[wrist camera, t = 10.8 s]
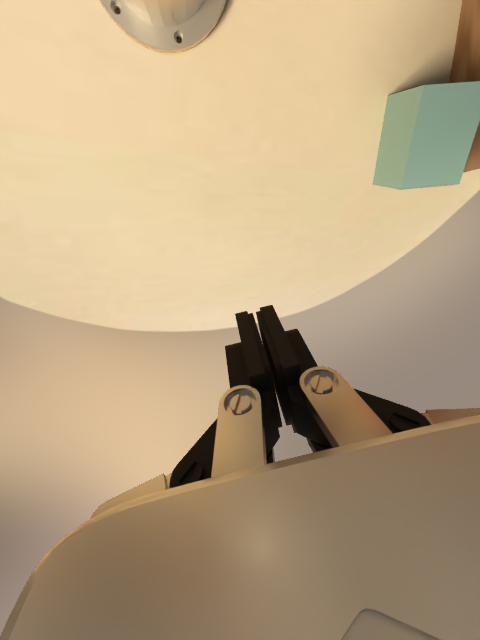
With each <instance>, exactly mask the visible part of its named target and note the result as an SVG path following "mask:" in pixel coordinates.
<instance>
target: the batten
mask: <svg viewBox="0 0 480 640" xmlns="http://www.w3.org/2000/svg"><path fill="white" fill-rule="evenodd" d="M476 81H480V0H463V2H462V8H461V14H460V21H459V27H458V33H457V39H456V46H455V52H454V58H453V64H452V71H451V77H450V83H461V82H476ZM479 168H480V121H479V124H478V127H477V130H476V134H475V137H474V140H473V143H472V146H471V149H470V152H469V155H468V158H467V161H466V164H465V167H464V171H463V172H467V171H471V170H475V169H479Z"/></svg>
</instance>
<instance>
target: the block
mask: <svg viewBox="0 0 480 640" xmlns="http://www.w3.org/2000/svg"><path fill="white" fill-rule="evenodd" d="M479 121H480V81H476V82H461V83H446V84H431V85H422V86H419V87H415V88H412V89H409V90H405V91H402V92H399V93H395V94H392V95H389V96H388V98H387V104H386V110H385V116H384V122H383V127H382V133H381V139H380V145H379V151H378V156H377V162H376V168H375V174H374V180H373V185H378V186H384V187H389V188H394V189H399V190H403V189H414V188H424V187H435V186H446V185H456V184H459V183H460V180H461V177H462V174H463V171H464V167H465V164H466V161H467V158H468V155H469V152H470V149H471V146H472V143H473V140H474V137H475V134H476V130H477V127H478V124H479Z"/></svg>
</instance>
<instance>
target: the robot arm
mask: <svg viewBox="0 0 480 640" xmlns="http://www.w3.org/2000/svg"><path fill="white" fill-rule="evenodd" d="M100 2H101V4H102V5H103V7H104V8H105V10H106V11H107V12H108V14H109V15H110V17H111V18H112V19H113V20H114V21H115V23H116V24H117V25H118V26H119V27H120V28H121V30H123V31H124V32H125V33H126V34H127V35H128V36H130V37H131V38H132V39H133V40H134V41H136V42H138V43H139V44H141V45H143V46H145V47H146V48H149V49H152V50H155V51H158V52H164V53H176V52H182V51H186V50H188V49H190V48H192V47H194V46H196V45H198V44H199V43H200V42H201V41H202V40H204V39H205V38H206V37H207V36H208V35H209V33H210V32H211V31H212V29H213V28H214V27H215V26H216V24H217V22H218V20H219V18H220V16H221V14H222V12H223V9H224V6H225V3H226V0H100ZM117 8H119V9H120V11H121V12H120V14H116V9H117ZM178 37H180V38H181V39H182V42H181V43H178V42H177V38H178ZM256 314H257V319H258V324H259V329H260V333H261V338H262V341H261V338H260V335H259V332H258V329H257V325H256V322H255V319H254V316H253V313H250V314H248V313H247V311H245V312H241V313H237V314H235V315H236V320H237V325H238V329H239V334H240V339H241V342H240V343H236V344H232V345H228V346H225V350H226V359H227V365H228V375H229V383H230V389H229V390H228V391H226V392H225V393H224V394H223V396H222V397H221V399H220V403H219V410H218V418H217V419H216V420H215V422H214V423H213V424H212V425H211V426H210V427H209V428H208V430H207V431H206V432H205V433H204V434H203V435H202V437H201V438H200V439H199V440H198V441H197V442H196V444H195V445H194V446H193V447H192V448H191V450H189V452H188V453H187V454H186V455H185V456H184V457H183V459H182V460H181V461H180V462H179V463H178V464H177V466H176V467H175V469H174V470H173V472H172V473H171V474H169V475H167V476H165V475H164V474H161V475H159V476H157V477H155V478H153V479H151V480H149V481H147V482H145V483H143V484H141V485H139V486H137V487H135V488H133V489H130V490H128V491H126V492H124V493H122V494H120V495H118V496H116V497H114V498H112V499H110V500H108V501H106V502H105V503H103V504H102V505H101V506H99V507H98V509H97V510H96V511H95V512H94V513H93V515H92V516H91V518H90V519H89V520H88V521H86V522H85V523H83V524H82V525H80V526H79V527H77V528H76V529H74V530H73V531H71V532H70V533H69V534H67V535H66V536H65V537H64V538H62V539H61V540H60V541H59V542H58V543H57V544H55V545H54V546H53V547H52V548H51V549H50V550H49V551H48V552H47V554H46V555H45V556H44V557H43V558H42V559H41V561H40V562H39V564H38V565H37V566H36V568H35V569H34V571H33V573H32V574H31V576H30V577H29V579H28V581H27V582H26V585H25V586H24V588H23V590H22V592H21V594H20V596H19V598H18V600H17V602H16V604H15V606H14V608H13V610H12V612H11V614H10V616H9V618H8V620H7V622H6V625H5V627H4V629H3V631H2V634H1V636H0V640H480V408H468V409H437V410H436V409H435V410H426V412H425V413H419V412H418V411H415V410H413V409H411V408H408V407H405V406H403V405H400V404H396V403H394V402H391V401H388V400H385V399H382V398H379V397H376V396H373V395H371V394H367V393H365V392H362V391H359V390H356V389H353V388H352V387H351V386H350V385H349V383H348V382H347V381H346V380H345V379H344V378H343V377H342V376H341V374H340V373H338V372H337V371H336V370H334V369H332V368H329V367H324V366H317V364H316V362H315V360H314V358H313V357H312V355H311V353H310V351H309V349H308V347H307V345H306V344H305V342H304V340H303V338H302V336H301V334H300V333H299V331H298V329H293V330H289V331H284V329H283V327H282V325H281V323H280V320H279V318H278V316H277V314H276V312H275V310H274V308H273V306H272V305H269V306H265V307H261V308H260V311H258V312H256ZM262 343H263V344H262ZM275 391H276V392H275ZM276 394H277V397H278V400H279V403H280V406H281V410H282V412H283V416H284V419H285V423H286V425H291V424H292V427H293V430H294V433H296V432H297V433H298V434H300V435H302V436H304V437H306V438H307V441H308V444H309V446H310V448H311V449H312V451H313V453H311V454H306V455H302V456H298V457H294V458H290V459H286V460H282V461H278V462H275V457H274V451H273V447H274V445H275V444H276V442H277V441H278V439H279V437H280V435H279V430H278V428H279V427H282V422H281V417H280V412H279V407H278V402H277V397H276Z"/></svg>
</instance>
